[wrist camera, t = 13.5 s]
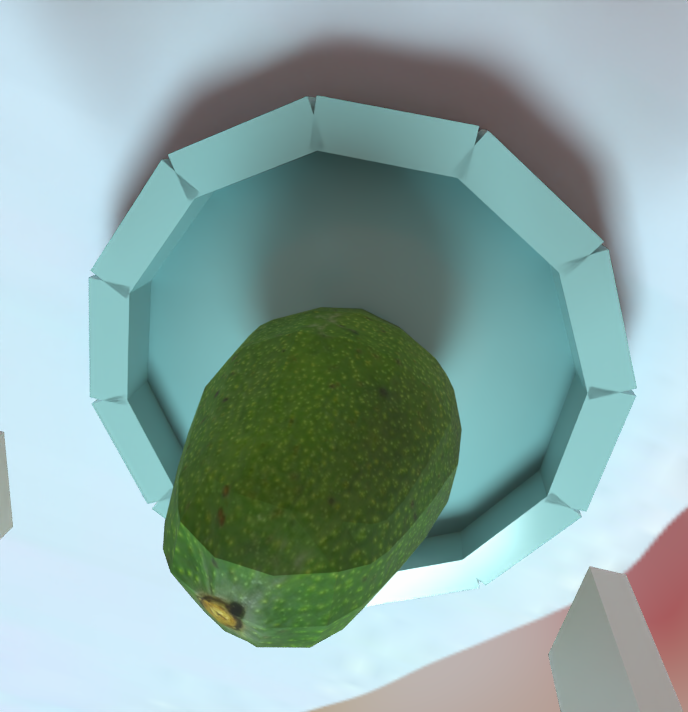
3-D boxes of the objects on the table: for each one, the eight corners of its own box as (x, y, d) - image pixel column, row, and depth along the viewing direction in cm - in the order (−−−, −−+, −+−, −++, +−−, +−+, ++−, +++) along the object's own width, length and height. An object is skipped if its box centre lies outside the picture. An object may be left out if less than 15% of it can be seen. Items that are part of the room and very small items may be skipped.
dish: (127, 59, 19) (86, 51, 17) (694, 166, 18) (731, 173, 16) (120, 504, 27) (91, 539, 25) (519, 600, 26) (527, 647, 24)
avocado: (271, 246, 20) (81, 396, 9) (484, 309, 20) (543, 536, 9) (233, 431, 24) (58, 703, 13) (416, 487, 23) (400, 814, 12)
